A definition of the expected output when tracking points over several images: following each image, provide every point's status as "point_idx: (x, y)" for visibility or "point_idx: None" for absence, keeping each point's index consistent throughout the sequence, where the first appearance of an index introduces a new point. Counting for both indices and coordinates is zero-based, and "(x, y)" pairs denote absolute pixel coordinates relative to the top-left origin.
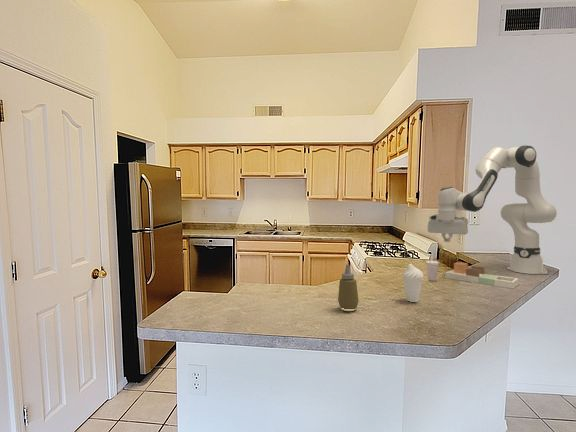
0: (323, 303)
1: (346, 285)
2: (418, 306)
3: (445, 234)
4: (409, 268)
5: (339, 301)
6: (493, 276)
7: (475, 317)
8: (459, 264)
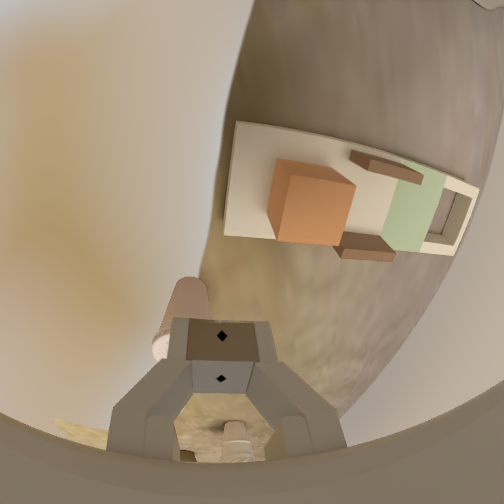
0: None
1: None
2: (251, 429)
3: (174, 435)
4: None
5: None
6: (426, 199)
7: None
8: (311, 242)
